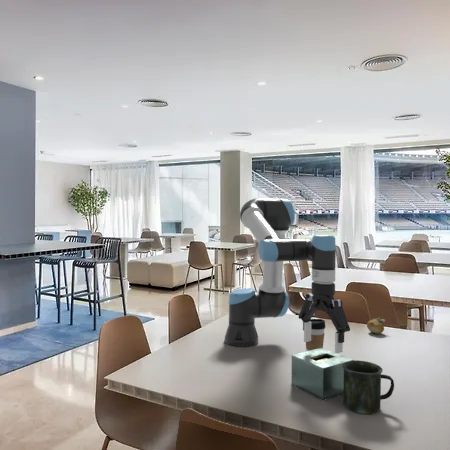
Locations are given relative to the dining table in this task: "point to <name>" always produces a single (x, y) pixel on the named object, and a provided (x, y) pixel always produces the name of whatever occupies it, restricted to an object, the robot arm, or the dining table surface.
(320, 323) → the coffee cup
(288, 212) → the robot arm
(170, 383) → the dining table surface
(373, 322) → the onion
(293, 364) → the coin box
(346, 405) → the mug
